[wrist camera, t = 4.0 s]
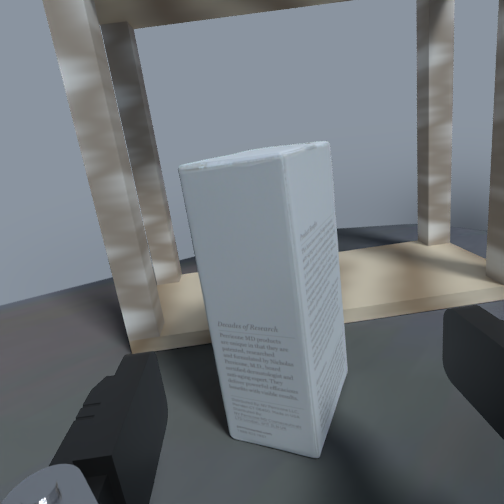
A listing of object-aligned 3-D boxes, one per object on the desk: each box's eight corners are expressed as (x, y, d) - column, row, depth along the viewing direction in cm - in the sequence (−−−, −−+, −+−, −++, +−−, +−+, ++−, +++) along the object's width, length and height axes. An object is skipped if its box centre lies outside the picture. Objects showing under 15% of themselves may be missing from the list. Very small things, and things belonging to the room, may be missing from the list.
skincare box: (274, 363, 22) (246, 149, 18) (349, 373, 20) (333, 139, 16) (224, 441, 16) (172, 163, 13) (319, 465, 15) (288, 150, 11)
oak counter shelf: (132, 354, 25) (23, -74, 18) (163, 287, 36) (104, 11, 29) (533, 295, 25) (572, -143, 18) (438, 247, 37) (441, -33, 30)
